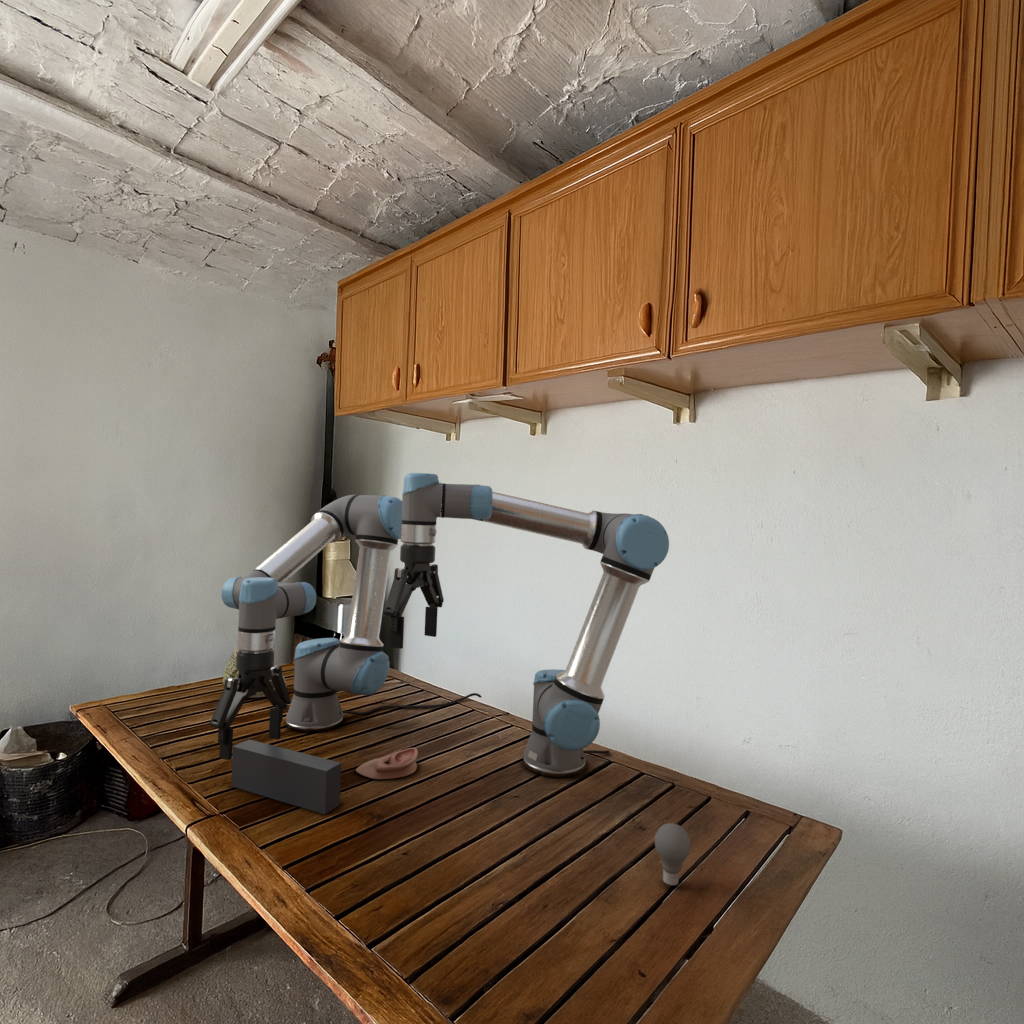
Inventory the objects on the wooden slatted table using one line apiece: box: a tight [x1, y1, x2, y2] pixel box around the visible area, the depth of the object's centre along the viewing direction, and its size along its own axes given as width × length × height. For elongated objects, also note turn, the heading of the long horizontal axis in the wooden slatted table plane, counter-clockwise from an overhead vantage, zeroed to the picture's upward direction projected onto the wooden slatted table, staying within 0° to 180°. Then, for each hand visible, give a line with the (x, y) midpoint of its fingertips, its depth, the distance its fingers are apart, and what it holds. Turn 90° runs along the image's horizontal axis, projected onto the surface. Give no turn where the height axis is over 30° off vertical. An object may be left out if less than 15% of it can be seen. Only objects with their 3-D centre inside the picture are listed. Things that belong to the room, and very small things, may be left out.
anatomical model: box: [355, 747, 419, 780], centre depth 148 cm, size 13×4×12 cm
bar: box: [231, 738, 342, 815], centre depth 134 cm, size 25×5×9 cm, turn 66°
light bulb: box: [654, 822, 692, 886], centre depth 108 cm, size 6×6×10 cm
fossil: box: [222, 647, 288, 699], centre depth 198 cm, size 9×18×15 cm, turn 132°
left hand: (251, 747), depth 137 cm, fingers open, 13 cm apart
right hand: (414, 641), depth 138 cm, fingers open, 13 cm apart
